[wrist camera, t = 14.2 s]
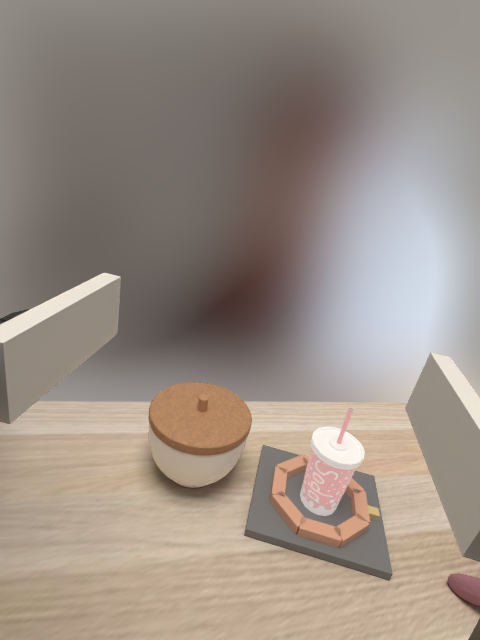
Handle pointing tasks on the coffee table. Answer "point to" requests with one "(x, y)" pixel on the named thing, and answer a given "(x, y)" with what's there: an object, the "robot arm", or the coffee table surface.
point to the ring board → (318, 516)
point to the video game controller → (466, 587)
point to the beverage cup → (330, 467)
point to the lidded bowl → (197, 432)
